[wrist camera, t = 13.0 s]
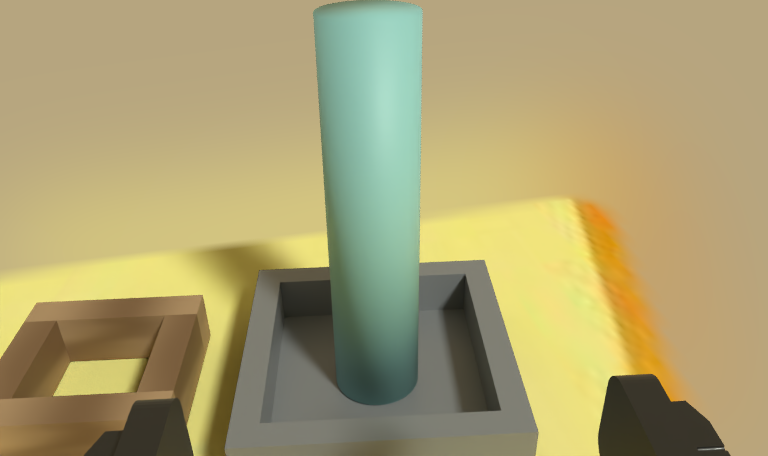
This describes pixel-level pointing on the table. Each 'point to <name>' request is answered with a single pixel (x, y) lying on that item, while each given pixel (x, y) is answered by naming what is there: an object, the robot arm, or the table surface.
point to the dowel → (372, 190)
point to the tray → (389, 421)
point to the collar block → (95, 342)
